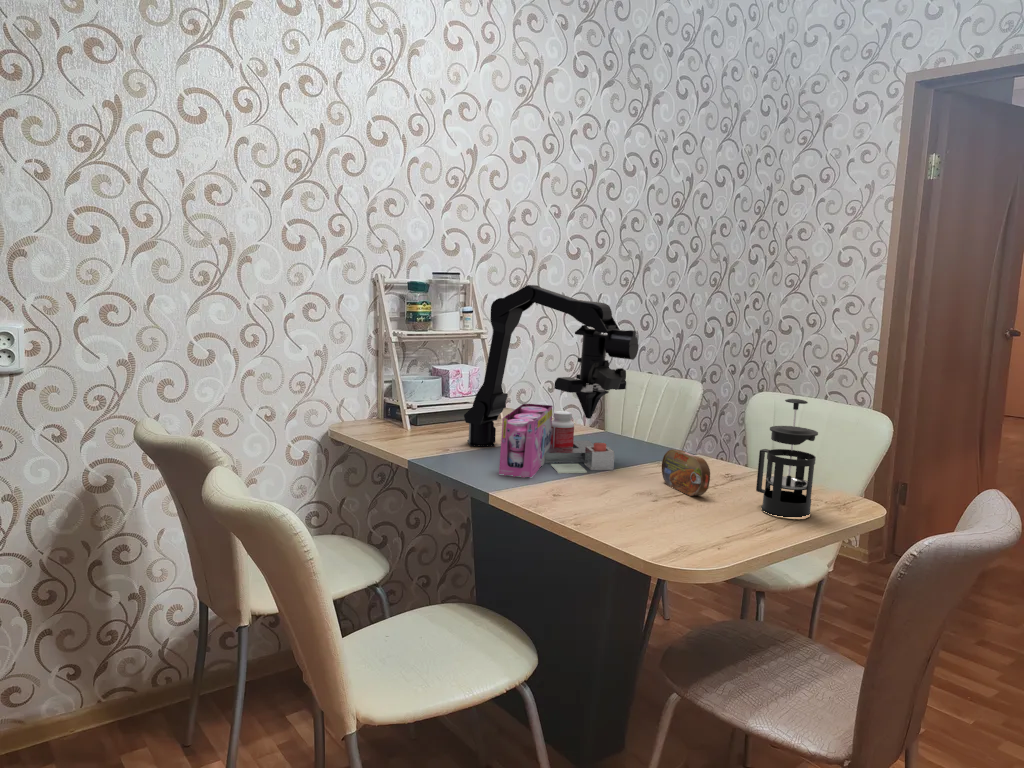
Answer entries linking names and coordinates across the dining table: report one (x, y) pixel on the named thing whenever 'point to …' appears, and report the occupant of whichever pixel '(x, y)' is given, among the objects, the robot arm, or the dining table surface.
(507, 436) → the gum box
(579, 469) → the pad
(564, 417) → the pill bottle
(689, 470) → the tin
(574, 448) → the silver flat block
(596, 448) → the button
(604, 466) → the housing
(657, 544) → the dining table surface
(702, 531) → the dining table surface
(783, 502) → the french press
